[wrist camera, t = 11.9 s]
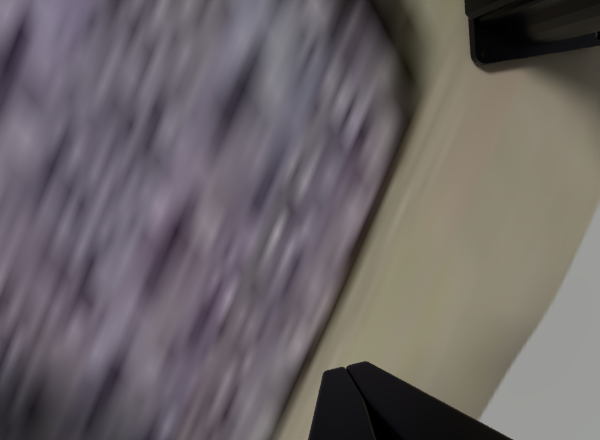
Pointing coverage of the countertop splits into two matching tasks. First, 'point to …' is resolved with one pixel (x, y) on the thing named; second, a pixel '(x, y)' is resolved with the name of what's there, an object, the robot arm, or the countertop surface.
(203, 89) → the countertop surface
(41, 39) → the countertop surface
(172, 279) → the countertop surface
